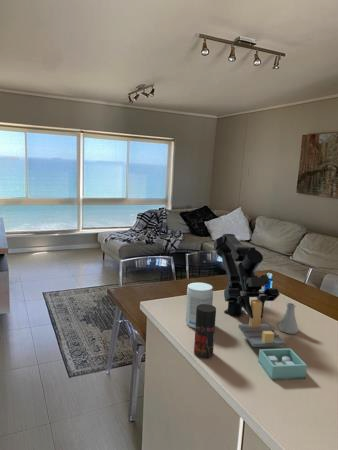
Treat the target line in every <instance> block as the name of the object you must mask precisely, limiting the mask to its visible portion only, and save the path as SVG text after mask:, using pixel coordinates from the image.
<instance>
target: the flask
mask: <svg viewBox="0 0 338 450" xmlns="http://www.w3.org/2000/svg"><path fill="white" fill-rule="evenodd" d="M296 305H297V304H295V303H294V302H287V303H286V309H285V313H284V316H283V317H282V319H281V320H280V323H279V325H278V329H279V331H280V332H283V333H286V334H290V335H292V334H293V335H297V334H298V333H299V332H300V331H299V327H298V323H297V319H296V315H295V307H296Z"/></svg>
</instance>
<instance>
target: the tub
mask: <svg viewBox="0 0 338 450" xmlns="http://www.w3.org/2000/svg"><path fill="white" fill-rule="evenodd" d="M257 362H258V364H259V365H260V366H261V368H262V369H263V370H264V372H265V373H266V375H267V376H268V377H269V379H270V381H278V380H280V381H282V380H298V379H299V380H301V379H302V380H303V379H306V375H307V368H308V367H307V365H308V364H306V363H305V361H304V360H302V359H301V358H300V357H299V355H298V354H296V353H295V351H294V350H293V349H292V348H264V349H263V348H262V349H260V348H259V350H258V361H257Z"/></svg>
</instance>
